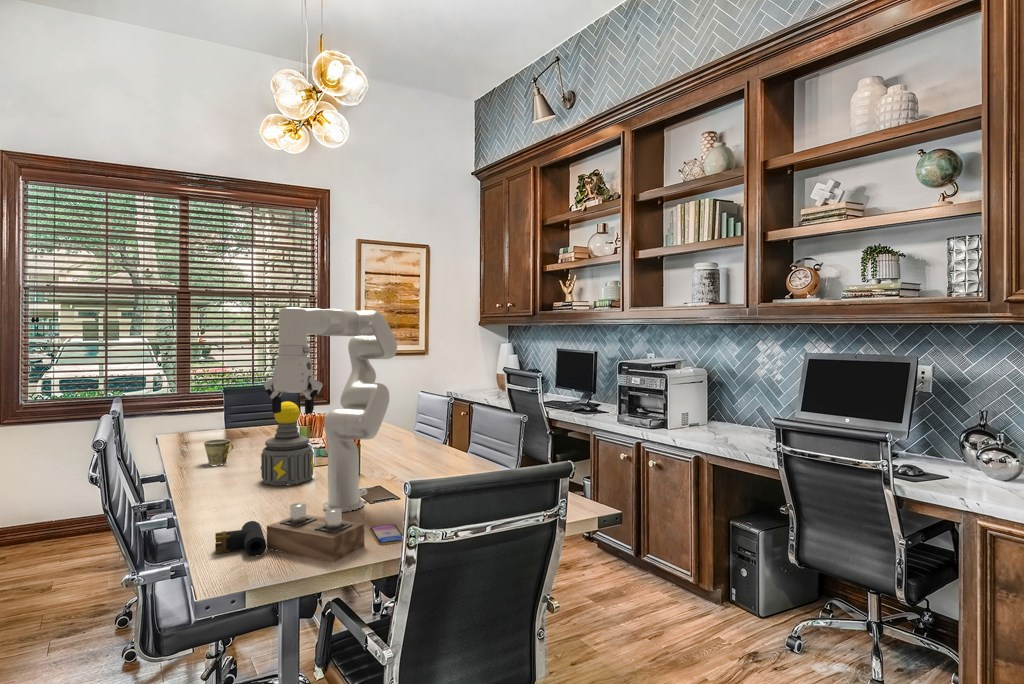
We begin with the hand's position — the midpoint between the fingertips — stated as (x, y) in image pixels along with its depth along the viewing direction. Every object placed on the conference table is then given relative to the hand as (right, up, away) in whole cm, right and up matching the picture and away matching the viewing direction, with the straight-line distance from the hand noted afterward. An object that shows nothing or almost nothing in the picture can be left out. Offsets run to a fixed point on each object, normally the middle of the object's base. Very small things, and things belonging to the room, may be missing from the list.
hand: (292, 413), depth 171 cm
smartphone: (+27, -34, -1) cm, 43 cm away
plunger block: (+10, -34, -10) cm, 37 cm away
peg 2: (+15, -30, -13) cm, 36 cm away
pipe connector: (-10, -35, -11) cm, 38 cm away
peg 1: (+4, -30, -8) cm, 31 cm away
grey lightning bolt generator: (-24, -33, +62) cm, 74 cm away
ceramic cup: (-62, -32, +88) cm, 113 cm away
